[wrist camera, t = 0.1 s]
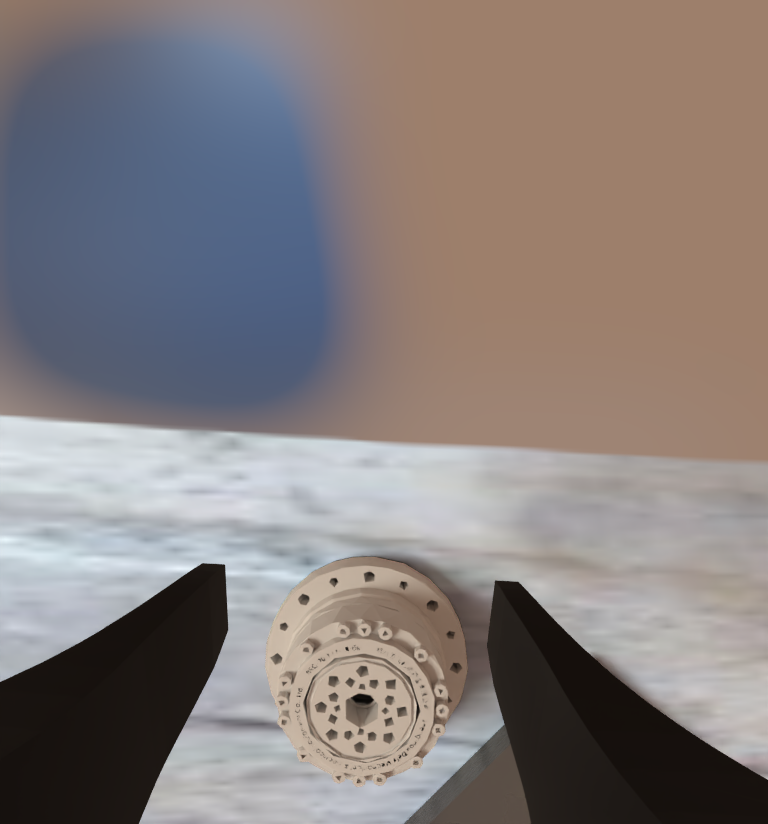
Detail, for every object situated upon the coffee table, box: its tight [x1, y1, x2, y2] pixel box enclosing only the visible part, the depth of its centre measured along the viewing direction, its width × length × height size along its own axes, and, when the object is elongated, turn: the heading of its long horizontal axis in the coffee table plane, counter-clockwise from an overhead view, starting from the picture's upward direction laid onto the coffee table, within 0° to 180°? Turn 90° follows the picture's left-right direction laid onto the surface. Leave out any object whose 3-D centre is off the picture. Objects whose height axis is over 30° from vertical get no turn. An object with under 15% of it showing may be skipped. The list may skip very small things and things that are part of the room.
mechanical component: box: [265, 557, 468, 787], centre depth 21 cm, size 10×4×10 cm
